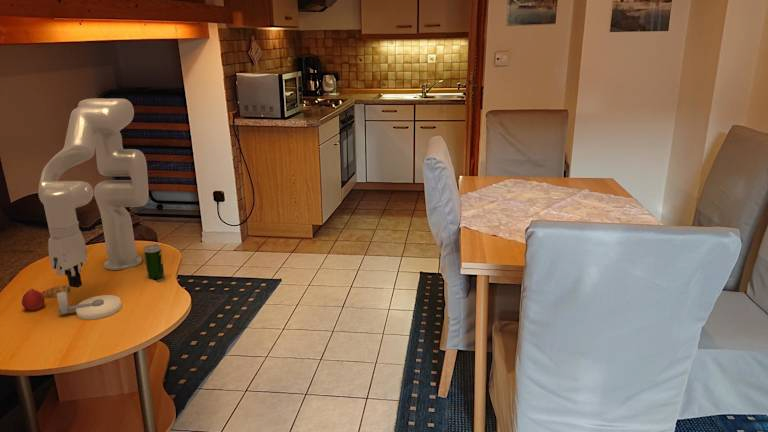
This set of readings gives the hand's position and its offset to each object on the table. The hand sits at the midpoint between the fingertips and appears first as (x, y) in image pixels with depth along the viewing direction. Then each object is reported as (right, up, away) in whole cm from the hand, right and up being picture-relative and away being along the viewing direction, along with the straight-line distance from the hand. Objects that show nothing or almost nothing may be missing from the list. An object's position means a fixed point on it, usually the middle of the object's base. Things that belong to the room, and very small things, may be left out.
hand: (75, 285), depth 165 cm
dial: (+6, -7, -2) cm, 10 cm away
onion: (-12, -8, 0) cm, 15 cm away
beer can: (+15, -1, +23) cm, 27 cm away
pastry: (-11, -5, +9) cm, 16 cm away
